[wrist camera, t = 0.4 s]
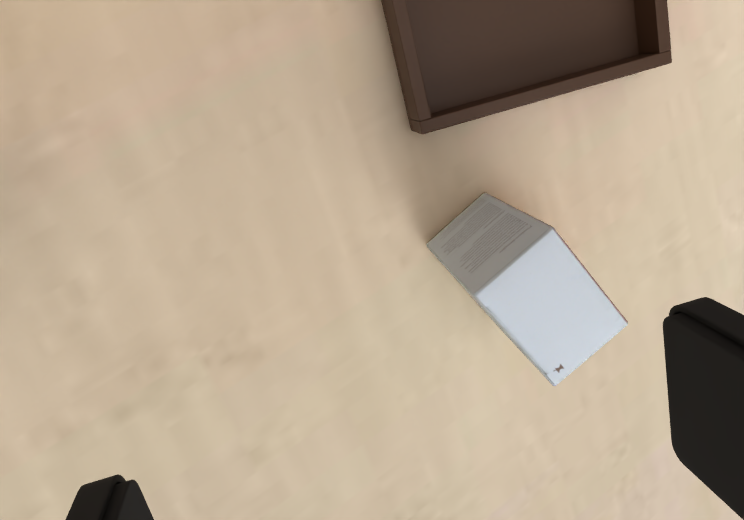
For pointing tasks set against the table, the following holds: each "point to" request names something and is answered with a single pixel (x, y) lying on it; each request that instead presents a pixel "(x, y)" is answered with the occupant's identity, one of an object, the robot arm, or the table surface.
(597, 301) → the small box
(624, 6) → the tray
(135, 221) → the table surface
